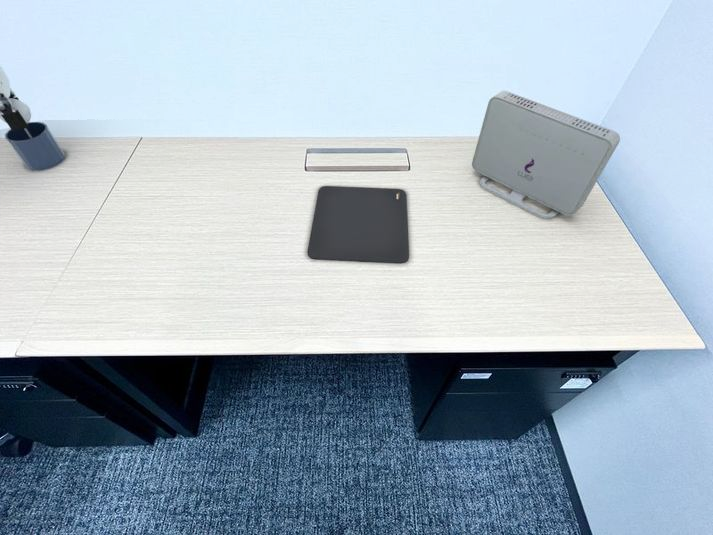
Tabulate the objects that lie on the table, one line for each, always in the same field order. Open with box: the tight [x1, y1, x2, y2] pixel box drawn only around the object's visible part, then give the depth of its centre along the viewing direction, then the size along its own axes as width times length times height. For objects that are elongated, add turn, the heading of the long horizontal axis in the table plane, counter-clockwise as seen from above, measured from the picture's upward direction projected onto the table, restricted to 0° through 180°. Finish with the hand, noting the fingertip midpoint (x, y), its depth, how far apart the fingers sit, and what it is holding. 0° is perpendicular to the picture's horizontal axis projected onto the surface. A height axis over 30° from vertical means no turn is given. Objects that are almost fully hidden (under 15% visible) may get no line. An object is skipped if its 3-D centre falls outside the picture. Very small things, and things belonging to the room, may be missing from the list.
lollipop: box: [0, 98, 32, 139], centre depth 93 cm, size 6×6×15 cm
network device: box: [471, 90, 621, 220], centre depth 85 cm, size 26×9×20 cm, turn 47°
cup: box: [4, 121, 66, 172], centre depth 96 cm, size 9×9×8 cm
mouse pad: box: [307, 185, 410, 264], centre depth 86 cm, size 23×20×1 cm
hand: (20, 121), depth 91 cm, fingers closed on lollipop, 5 cm apart
